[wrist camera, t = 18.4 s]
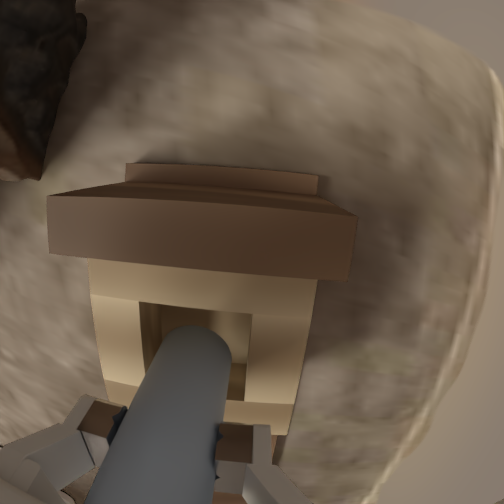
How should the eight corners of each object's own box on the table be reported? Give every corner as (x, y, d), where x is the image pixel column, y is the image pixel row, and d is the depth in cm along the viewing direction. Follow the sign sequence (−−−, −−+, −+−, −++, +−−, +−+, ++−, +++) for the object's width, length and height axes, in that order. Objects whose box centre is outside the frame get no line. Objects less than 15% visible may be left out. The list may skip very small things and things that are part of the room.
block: (281, 377, 18) (286, 435, 14) (139, 360, 18) (111, 411, 14) (302, 233, 16) (320, 261, 11) (132, 219, 16) (86, 241, 11)
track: (259, 503, 24) (258, 566, 17) (163, 492, 24) (147, 551, 17) (315, 175, 16) (362, 183, 9) (133, 163, 16) (47, 166, 9)
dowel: (229, 387, 13) (201, 611, 3) (163, 378, 13) (84, 581, 3) (233, 329, 12) (194, 598, 2) (159, 320, 12) (36, 546, 2)
